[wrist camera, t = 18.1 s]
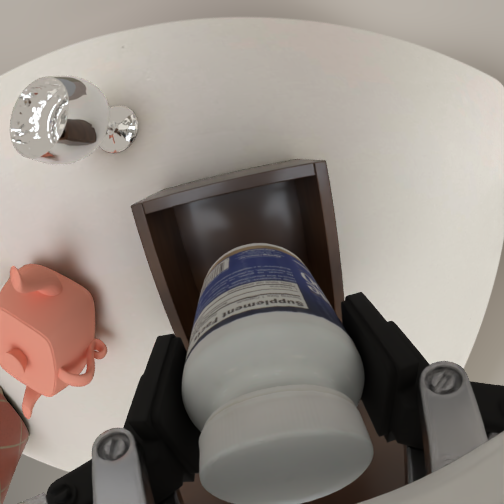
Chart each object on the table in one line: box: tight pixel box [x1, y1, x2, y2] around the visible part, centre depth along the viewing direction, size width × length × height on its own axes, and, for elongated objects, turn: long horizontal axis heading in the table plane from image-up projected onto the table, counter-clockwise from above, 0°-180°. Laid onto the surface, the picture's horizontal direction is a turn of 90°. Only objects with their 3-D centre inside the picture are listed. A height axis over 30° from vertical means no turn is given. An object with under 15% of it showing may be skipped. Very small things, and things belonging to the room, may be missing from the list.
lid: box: [179, 399, 405, 504], centre depth 13 cm, size 15×12×5 cm
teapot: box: [0, 264, 107, 419], centre depth 22 cm, size 14×14×11 cm
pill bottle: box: [182, 243, 374, 504], centre depth 10 cm, size 5×5×10 cm
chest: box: [131, 159, 344, 352], centre depth 23 cm, size 15×12×8 cm
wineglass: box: [10, 76, 138, 165], centre depth 17 cm, size 6×6×12 cm
